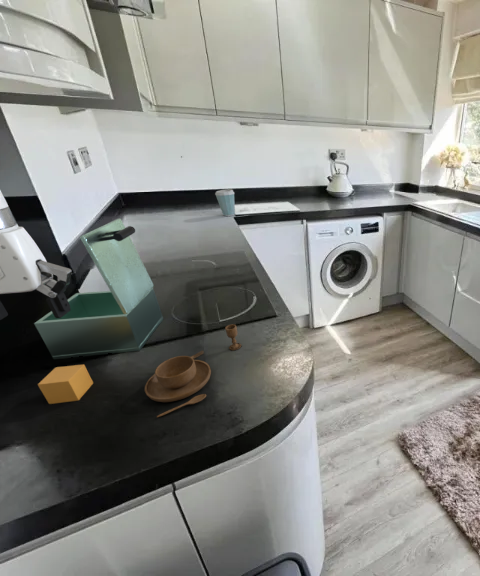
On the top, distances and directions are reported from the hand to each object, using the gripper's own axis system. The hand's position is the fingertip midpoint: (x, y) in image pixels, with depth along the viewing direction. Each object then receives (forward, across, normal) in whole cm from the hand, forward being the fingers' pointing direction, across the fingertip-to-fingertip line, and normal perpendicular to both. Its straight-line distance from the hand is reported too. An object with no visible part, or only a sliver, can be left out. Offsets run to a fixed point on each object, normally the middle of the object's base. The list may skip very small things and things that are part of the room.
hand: (32, 317), depth 57 cm
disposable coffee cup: (+18, -1, +154) cm, 155 cm away
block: (+18, 0, 0) cm, 18 cm away
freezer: (+18, -2, +20) cm, 27 cm away
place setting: (+19, +24, +1) cm, 30 cm away
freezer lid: (-1, +5, +20) cm, 21 cm away
